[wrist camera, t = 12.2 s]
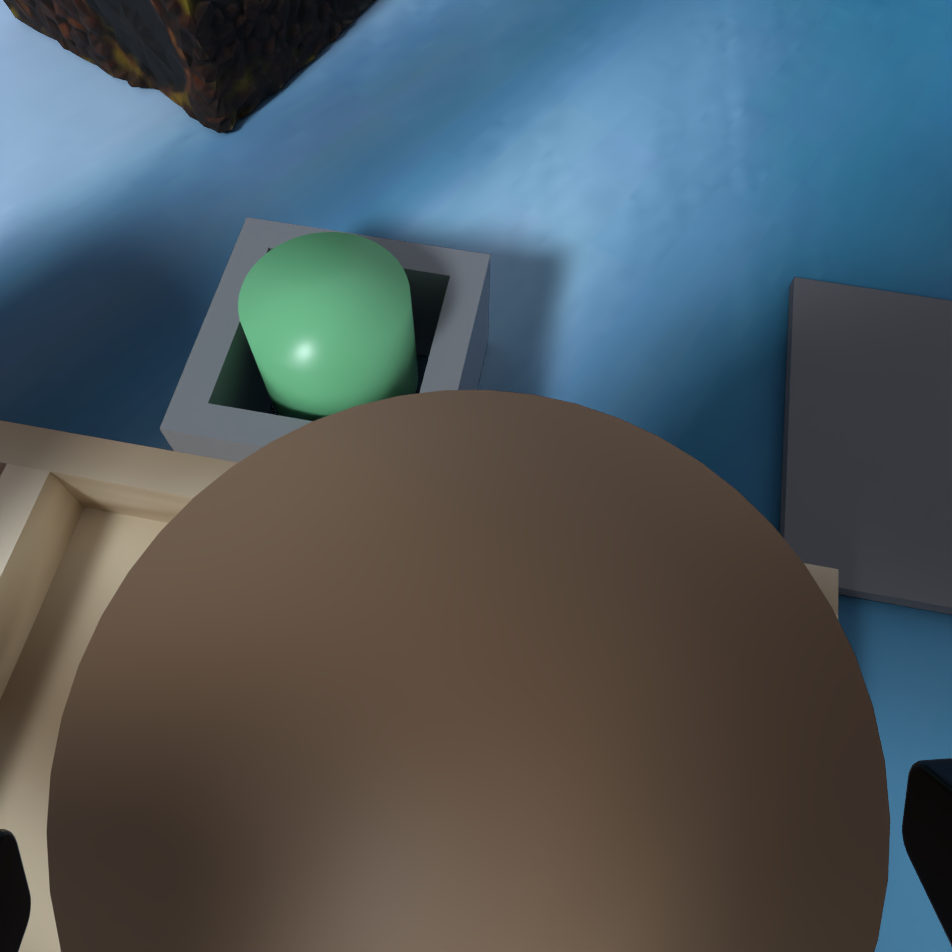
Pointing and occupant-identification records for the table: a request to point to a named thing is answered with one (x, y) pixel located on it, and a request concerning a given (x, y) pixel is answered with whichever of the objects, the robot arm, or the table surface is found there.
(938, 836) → the robot arm
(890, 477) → the rubber mat
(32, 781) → the birch frame
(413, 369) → the button
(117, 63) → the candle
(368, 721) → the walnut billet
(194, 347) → the grey square box
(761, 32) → the table surface
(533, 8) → the table surface
